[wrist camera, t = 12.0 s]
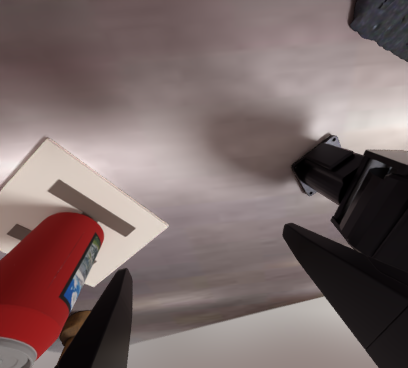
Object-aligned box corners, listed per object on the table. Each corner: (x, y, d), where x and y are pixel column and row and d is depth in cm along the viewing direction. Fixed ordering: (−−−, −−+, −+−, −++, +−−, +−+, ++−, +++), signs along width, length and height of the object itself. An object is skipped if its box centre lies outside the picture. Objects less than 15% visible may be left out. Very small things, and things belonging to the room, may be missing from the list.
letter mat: (168, 224, 23) (168, 227, 23) (94, 284, 26) (93, 287, 26) (49, 137, 16) (45, 139, 16) (-36, 233, 19) (-41, 236, 18)
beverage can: (83, 257, 23) (7, 394, 12) (30, 230, 20) (-133, 383, 9) (118, 229, 22) (69, 353, 11) (68, 197, 19) (-65, 325, 8)
